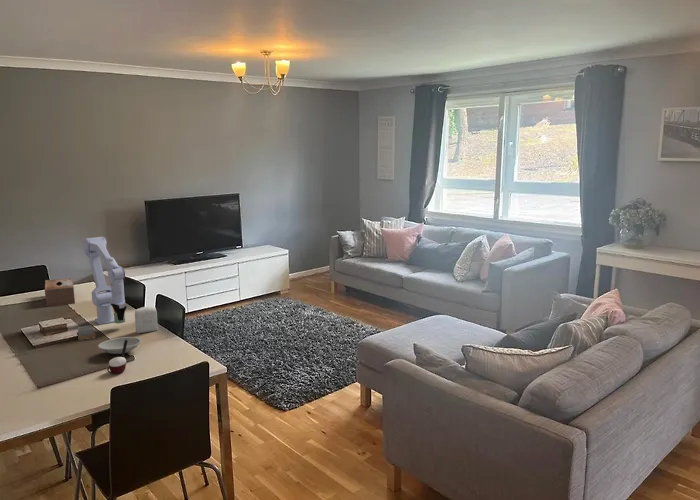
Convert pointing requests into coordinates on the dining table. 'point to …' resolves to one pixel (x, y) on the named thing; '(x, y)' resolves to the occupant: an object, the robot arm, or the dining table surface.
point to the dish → (119, 345)
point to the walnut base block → (85, 336)
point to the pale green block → (117, 318)
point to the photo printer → (146, 319)
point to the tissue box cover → (59, 292)
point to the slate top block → (85, 330)
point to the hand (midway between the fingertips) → (119, 318)
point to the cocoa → (118, 362)
